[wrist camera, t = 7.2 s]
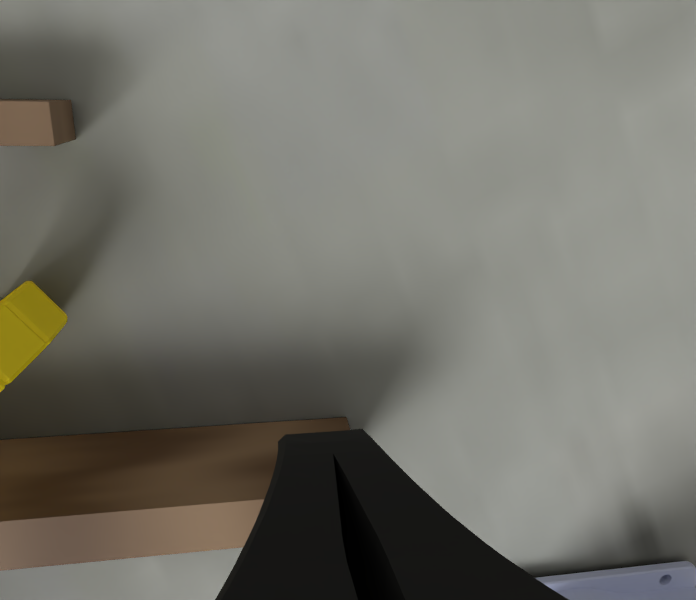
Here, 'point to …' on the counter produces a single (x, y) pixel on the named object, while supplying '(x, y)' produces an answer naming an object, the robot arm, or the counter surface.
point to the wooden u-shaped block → (128, 458)
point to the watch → (26, 328)
